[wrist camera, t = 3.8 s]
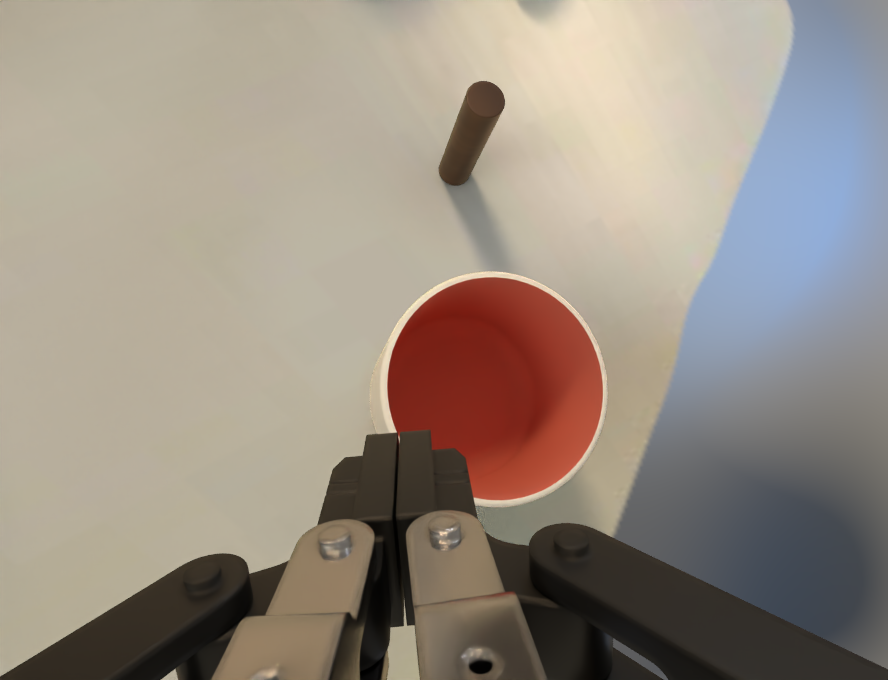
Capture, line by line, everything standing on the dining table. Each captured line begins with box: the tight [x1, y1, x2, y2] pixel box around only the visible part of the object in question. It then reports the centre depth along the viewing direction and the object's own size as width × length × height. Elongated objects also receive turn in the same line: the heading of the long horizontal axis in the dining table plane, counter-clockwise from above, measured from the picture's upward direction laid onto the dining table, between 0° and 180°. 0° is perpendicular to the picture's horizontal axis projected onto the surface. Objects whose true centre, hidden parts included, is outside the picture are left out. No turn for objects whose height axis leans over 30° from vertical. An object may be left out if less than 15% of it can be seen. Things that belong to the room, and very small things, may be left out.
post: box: [439, 81, 505, 185], centre depth 32 cm, size 2×2×8 cm
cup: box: [370, 272, 608, 507], centre depth 29 cm, size 10×10×10 cm
